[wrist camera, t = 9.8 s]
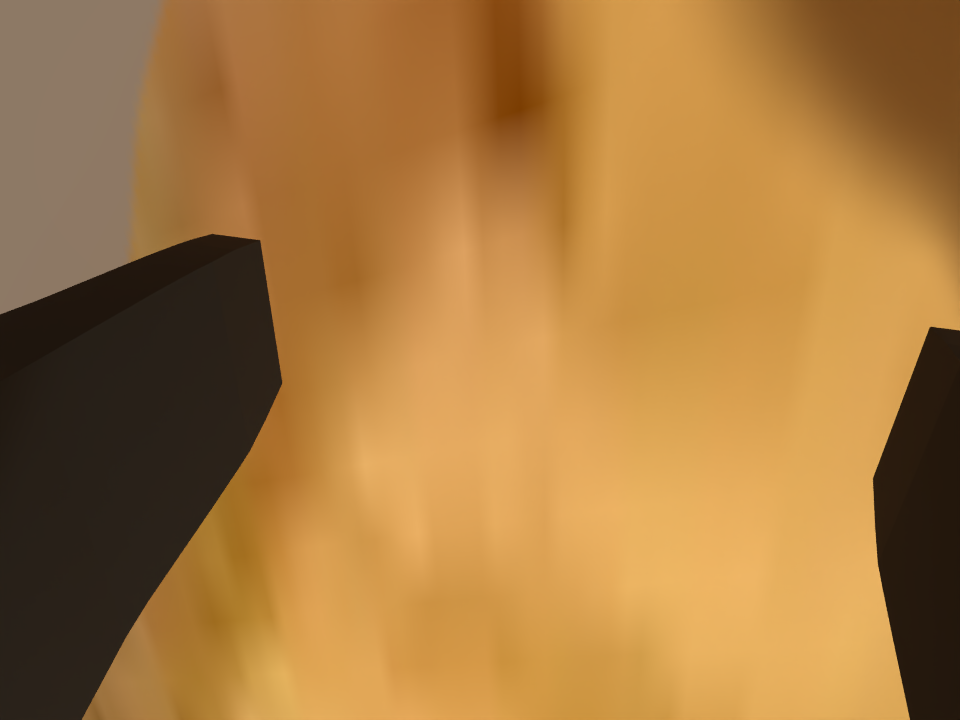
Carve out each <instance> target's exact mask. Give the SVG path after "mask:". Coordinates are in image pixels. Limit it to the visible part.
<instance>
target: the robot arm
mask: <svg viewBox="0 0 960 720" xmlns="http://www.w3.org/2000/svg"><path fill="white" fill-rule="evenodd" d="M281 385H282V378H281V371H280V365H279V359H278V352H277V346H276V339H275V333H274V326H273V320H272V314H271V307H270V301H269V294H268V288H267V281H266V275H265V269H264V262H263V256H262V249H261V243H260V240H254V239H246V238H238V237H231V236H223V235H215V234H210V235H207V236H203V237H199V238H196V239H192V240H189V241H186V242H183V243H180V244H177V245H175V246H172V247H169V248H166V249H164V250H161V251H158V252H156V253H153V254H151V255H148V256H146V257H143V258H141V259H138V260H136V261H133V262H131V263H128V264H126V265H123V266H121V267H118V268H116V269H114V270H111V271H109V272H106V273H104V274H102V275H99V276H96V277H94V278H92V279H89V280H87V281H84V282H82V283H80V284H77V285H74V286H72V287H70V288H67V289H65V290H62V291H60V292H57V293H55V294H52V295H50V296H48V297H45V298H43V299H40V300H38V301H35V302H33V303H30V304H27V305H24V306H22V307H19V308H16V309H14V310H11V311H8V312H6V313H3V314H0V720H82V718H83V716H84V714H85V712H86V710H87V709H88V707H89V705H90V703H91V701H92V699H93V697H94V696H95V694H96V692H97V690H98V688H99V686H100V684H101V683H102V681H103V679H104V677H105V675H106V673H107V671H108V669H109V668H110V666H111V664H112V662H113V660H114V658H115V656H116V655H117V653H118V651H119V649H120V647H121V645H122V643H123V642H124V640H125V638H126V636H127V635H128V633H129V631H130V630H131V628H132V627H133V625H134V623H135V622H136V620H137V618H138V617H139V615H140V614H141V612H142V610H143V609H144V607H145V606H146V604H147V602H148V601H149V599H150V598H151V596H152V595H153V593H154V592H155V591H156V589H157V588H158V586H159V585H160V583H161V582H162V580H163V579H164V577H165V576H166V574H167V573H168V572H169V570H170V569H171V567H172V566H173V564H174V563H175V561H176V560H177V558H178V557H179V555H180V554H181V553H182V551H183V550H184V548H185V547H186V545H187V544H188V542H189V541H190V539H191V538H192V536H193V535H194V534H195V532H196V531H197V529H198V528H199V526H200V525H201V523H202V522H203V520H204V519H205V518H206V516H207V515H208V513H209V512H210V510H211V509H212V507H213V506H214V504H215V503H216V501H217V500H218V498H219V497H220V495H221V494H222V492H223V491H224V489H225V488H226V486H227V485H228V483H229V482H230V480H231V479H232V477H233V476H234V474H235V473H236V472H237V470H238V469H239V467H240V465H241V464H242V462H243V461H244V459H245V458H246V456H247V455H248V453H249V451H250V450H251V448H252V446H253V444H254V442H255V440H256V438H257V436H258V434H259V432H260V430H261V428H262V426H263V424H264V422H265V420H266V418H267V415H268V413H269V411H270V409H271V407H272V404H273V402H274V400H275V398H276V396H277V394H278V391H279V389H280V387H281ZM873 489H874V511H875V530H876V544H877V557H878V566H879V572H880V577H881V582H882V587H883V592H884V597H885V602H886V607H887V612H888V617H889V622H890V627H891V632H892V636H893V641H894V646H895V651H896V655H897V660H898V665H899V669H900V674H901V679H902V684H903V688H904V693H905V698H906V702H907V707H908V712H909V717H910V720H960V331H959V330H951V329H943V328H936V327H930V328H929V331H928V334H927V336H926V339H925V342H924V344H923V347H922V350H921V352H920V355H919V358H918V360H917V363H916V366H915V368H914V371H913V374H912V376H911V379H910V382H909V384H908V387H907V390H906V392H905V395H904V398H903V400H902V403H901V405H900V408H899V411H898V413H897V416H896V419H895V421H894V424H893V427H892V429H891V432H890V435H889V437H888V440H887V443H886V445H885V448H884V451H883V453H882V456H881V459H880V461H879V464H878V467H877V469H876V472H875V475H874V477H873Z"/></svg>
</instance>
